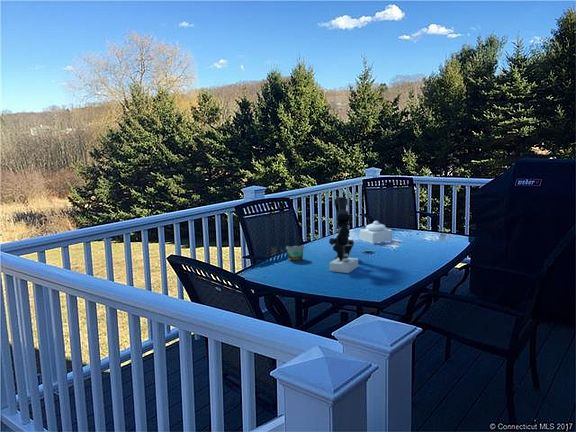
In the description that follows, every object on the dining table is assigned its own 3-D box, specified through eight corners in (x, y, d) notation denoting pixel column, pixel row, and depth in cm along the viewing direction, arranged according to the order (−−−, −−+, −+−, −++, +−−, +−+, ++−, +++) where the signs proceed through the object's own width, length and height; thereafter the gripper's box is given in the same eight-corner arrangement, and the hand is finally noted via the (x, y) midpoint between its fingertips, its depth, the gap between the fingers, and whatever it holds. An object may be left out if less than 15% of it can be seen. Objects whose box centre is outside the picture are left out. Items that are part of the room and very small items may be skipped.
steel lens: (341, 264, 288) (341, 252, 287) (349, 264, 285) (349, 253, 284) (338, 266, 284) (338, 254, 282) (346, 266, 281) (346, 255, 280)
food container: (288, 262, 303) (288, 247, 301) (286, 260, 309) (285, 245, 307) (307, 261, 306) (306, 246, 305) (304, 258, 312) (303, 244, 311)
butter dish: (359, 240, 364) (359, 220, 361) (378, 237, 371) (378, 217, 368) (372, 244, 348) (372, 223, 345) (392, 241, 355) (392, 221, 353)
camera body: (340, 264, 294) (340, 255, 294) (358, 266, 289) (358, 257, 288) (329, 271, 281) (329, 261, 280) (348, 273, 275) (348, 263, 274)
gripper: (337, 230, 293) (337, 254, 296) (324, 235, 277) (325, 261, 280) (354, 231, 288) (354, 256, 290) (342, 237, 272) (342, 263, 274)
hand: (343, 259), depth 284 cm, fingers open, 9 cm apart
